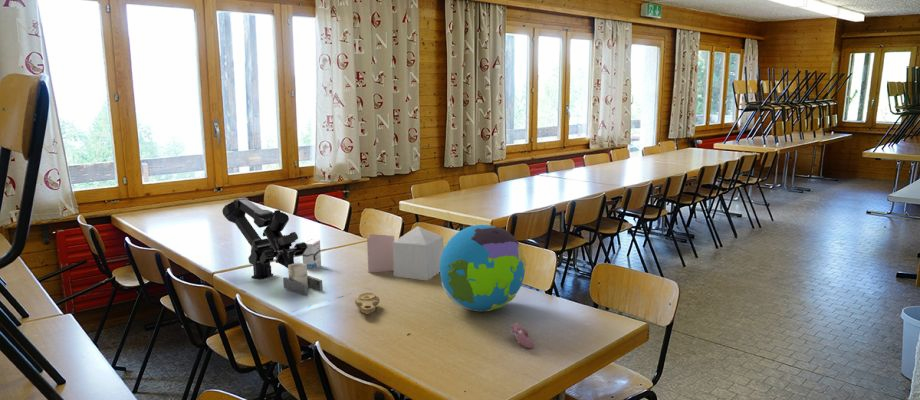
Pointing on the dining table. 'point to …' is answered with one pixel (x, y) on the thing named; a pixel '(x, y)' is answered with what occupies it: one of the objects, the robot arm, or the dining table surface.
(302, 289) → the chute
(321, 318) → the dining table surface
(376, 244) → the greeting card
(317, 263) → the ink box
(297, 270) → the block
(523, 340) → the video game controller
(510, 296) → the globe
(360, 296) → the oil lamp
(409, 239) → the decorative block
